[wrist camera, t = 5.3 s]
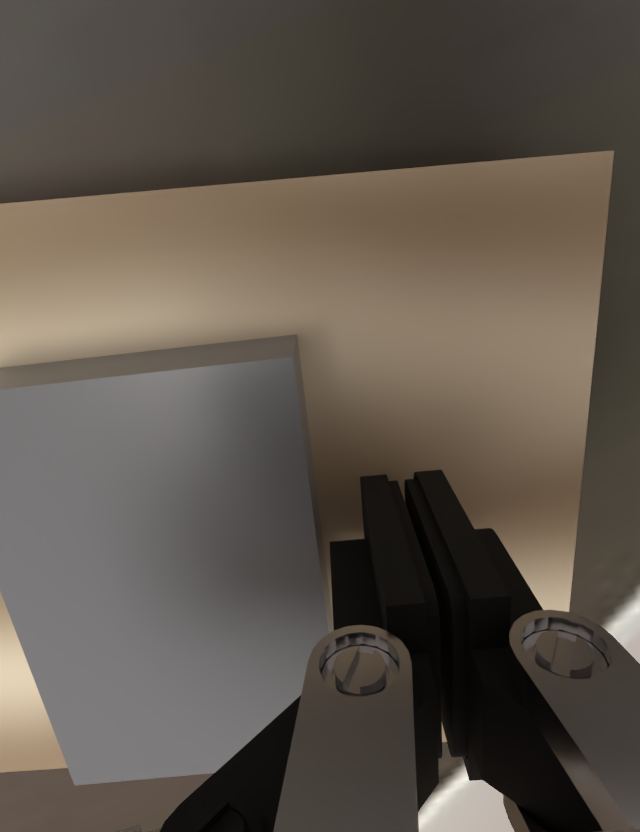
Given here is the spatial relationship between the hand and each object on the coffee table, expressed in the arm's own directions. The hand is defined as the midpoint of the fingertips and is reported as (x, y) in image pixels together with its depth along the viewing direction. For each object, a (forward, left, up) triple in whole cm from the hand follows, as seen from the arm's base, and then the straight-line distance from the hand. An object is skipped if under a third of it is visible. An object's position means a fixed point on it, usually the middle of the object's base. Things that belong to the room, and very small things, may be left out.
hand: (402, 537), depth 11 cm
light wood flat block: (0, -5, -5) cm, 7 cm away
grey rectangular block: (0, -5, -1) cm, 5 cm away
